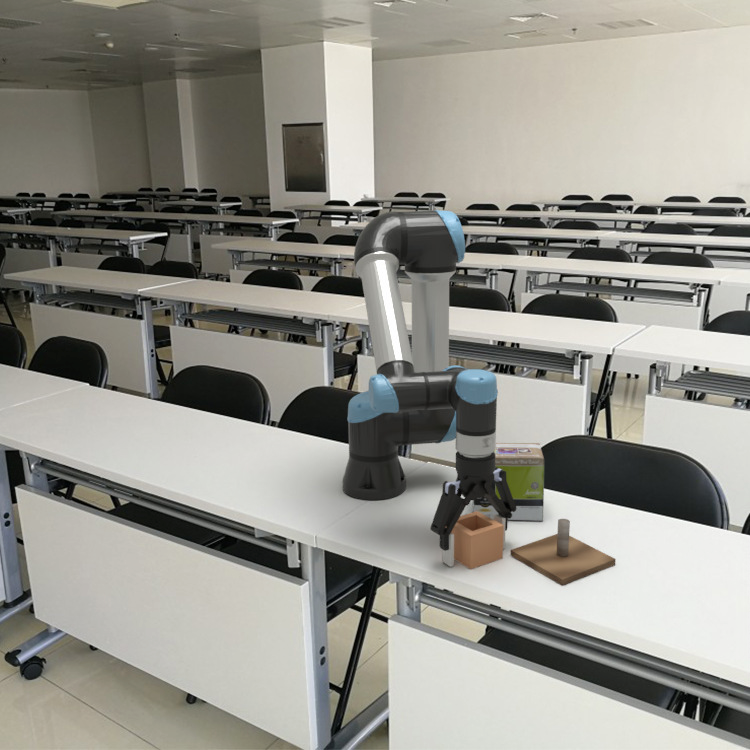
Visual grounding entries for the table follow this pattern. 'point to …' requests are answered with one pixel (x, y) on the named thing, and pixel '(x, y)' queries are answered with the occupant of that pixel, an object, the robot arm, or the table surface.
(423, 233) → the robot arm
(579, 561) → the post board
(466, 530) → the collar
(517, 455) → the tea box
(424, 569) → the table surface
